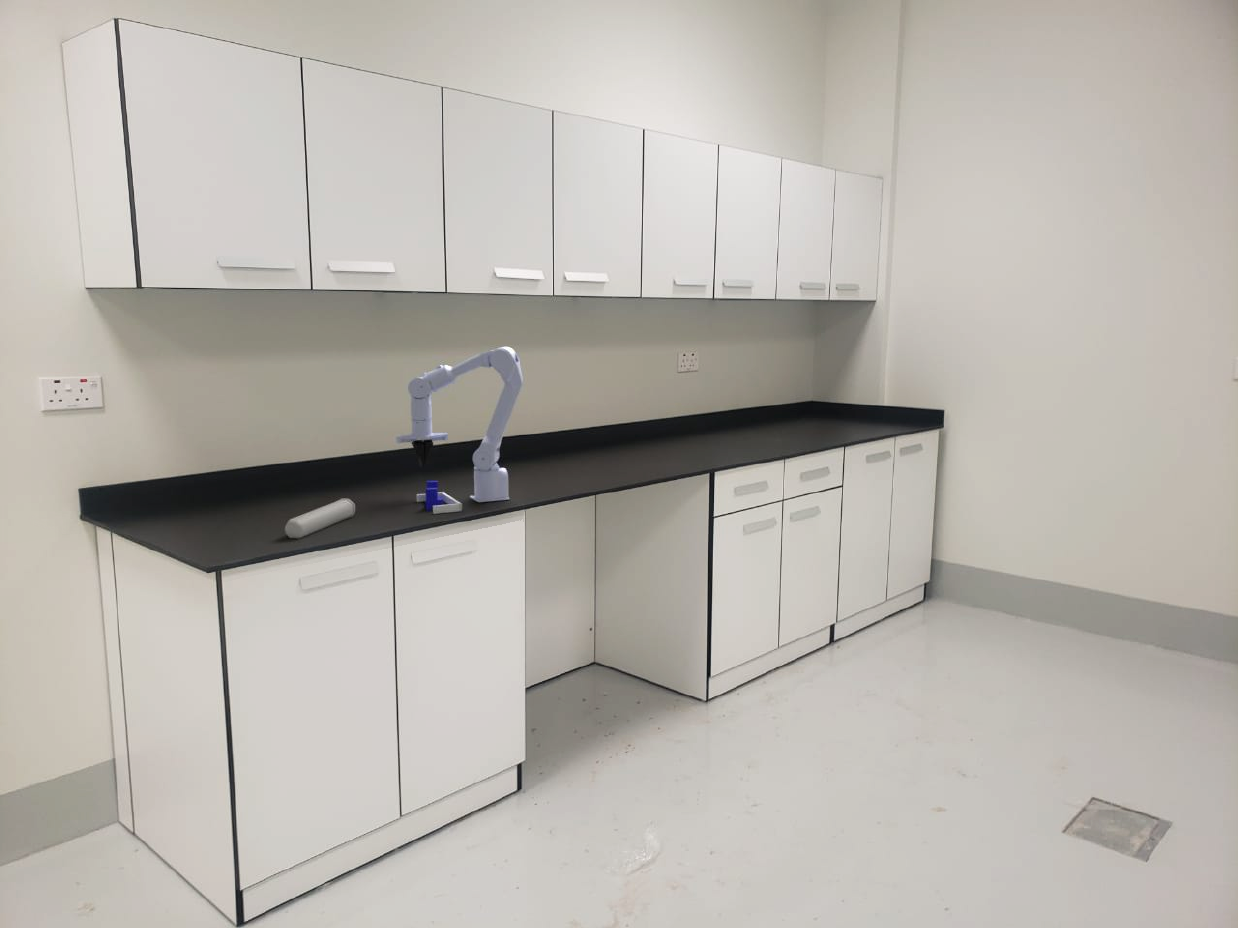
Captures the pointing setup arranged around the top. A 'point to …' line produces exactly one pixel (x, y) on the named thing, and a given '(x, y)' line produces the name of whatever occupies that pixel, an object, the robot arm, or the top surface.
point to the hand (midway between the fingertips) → (423, 466)
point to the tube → (320, 518)
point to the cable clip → (432, 495)
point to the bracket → (450, 507)
